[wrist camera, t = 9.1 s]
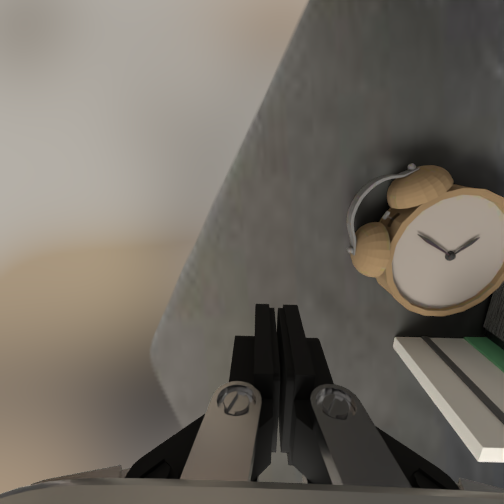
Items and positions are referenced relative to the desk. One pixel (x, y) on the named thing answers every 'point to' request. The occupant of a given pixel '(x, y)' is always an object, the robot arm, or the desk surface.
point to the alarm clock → (432, 241)
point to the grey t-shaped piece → (496, 318)
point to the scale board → (462, 387)
